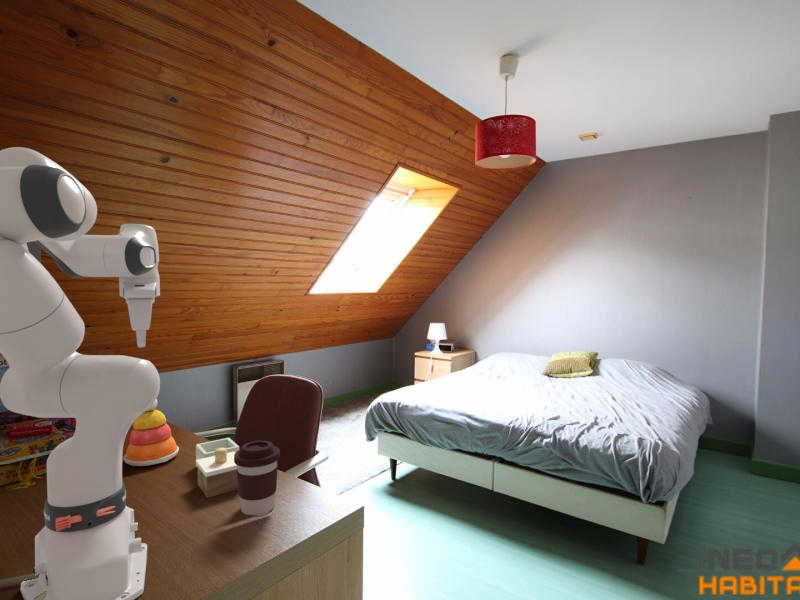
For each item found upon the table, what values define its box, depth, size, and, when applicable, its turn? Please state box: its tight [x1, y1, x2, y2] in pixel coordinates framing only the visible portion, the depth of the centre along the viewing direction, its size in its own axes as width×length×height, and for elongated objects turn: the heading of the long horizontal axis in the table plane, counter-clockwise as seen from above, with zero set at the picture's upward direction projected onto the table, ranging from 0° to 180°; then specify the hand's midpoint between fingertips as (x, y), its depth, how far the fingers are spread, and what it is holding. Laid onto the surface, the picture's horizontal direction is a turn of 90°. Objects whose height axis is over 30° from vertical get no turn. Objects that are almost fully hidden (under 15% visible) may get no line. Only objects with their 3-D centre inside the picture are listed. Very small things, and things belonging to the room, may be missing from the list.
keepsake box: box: [196, 466, 238, 499], centre depth 113 cm, size 9×9×6 cm
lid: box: [195, 448, 238, 477], centre depth 113 cm, size 10×10×5 cm
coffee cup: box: [234, 440, 281, 518], centre depth 102 cm, size 10×10×15 cm
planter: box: [195, 437, 240, 468], centre depth 124 cm, size 9×9×7 cm
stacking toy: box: [123, 398, 180, 467], centre depth 132 cm, size 14×14×20 cm
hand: (141, 343), depth 114 cm, fingers open, 8 cm apart
